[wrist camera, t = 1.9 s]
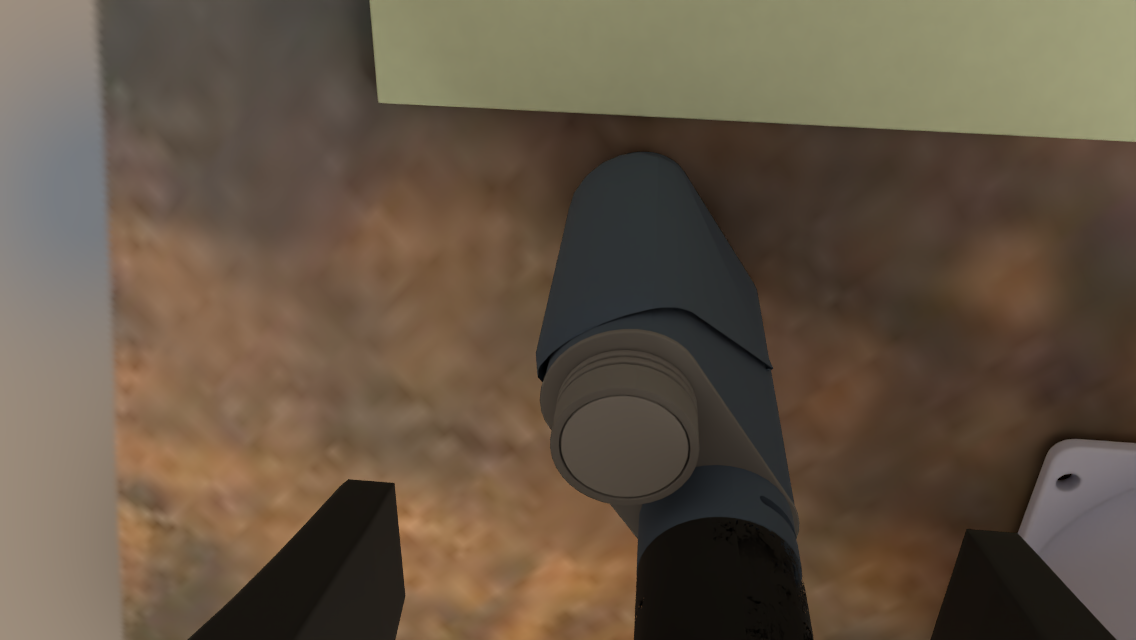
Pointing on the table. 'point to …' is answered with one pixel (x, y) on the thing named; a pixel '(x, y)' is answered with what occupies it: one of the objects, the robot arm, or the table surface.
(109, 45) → the table surface
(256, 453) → the table surface
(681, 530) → the vaping device
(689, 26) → the tray
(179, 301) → the table surface
